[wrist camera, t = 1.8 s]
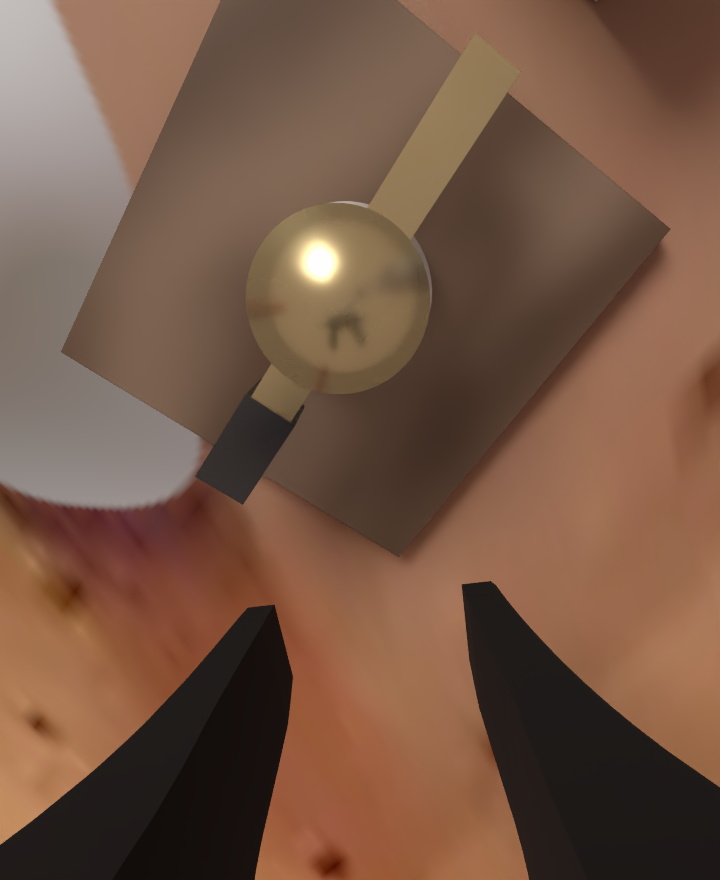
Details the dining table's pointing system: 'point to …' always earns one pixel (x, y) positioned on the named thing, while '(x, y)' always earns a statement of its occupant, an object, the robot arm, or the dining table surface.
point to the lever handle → (350, 280)
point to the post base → (356, 182)
